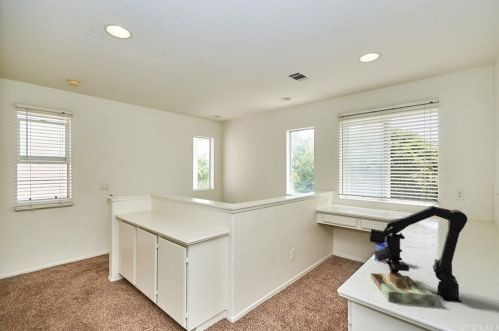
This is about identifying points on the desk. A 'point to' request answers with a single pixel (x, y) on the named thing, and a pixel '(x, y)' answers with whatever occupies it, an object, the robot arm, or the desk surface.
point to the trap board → (403, 291)
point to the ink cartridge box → (380, 248)
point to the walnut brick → (398, 280)
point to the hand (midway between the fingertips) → (393, 277)
